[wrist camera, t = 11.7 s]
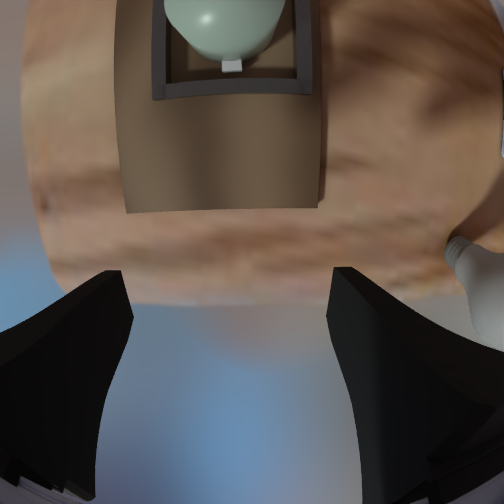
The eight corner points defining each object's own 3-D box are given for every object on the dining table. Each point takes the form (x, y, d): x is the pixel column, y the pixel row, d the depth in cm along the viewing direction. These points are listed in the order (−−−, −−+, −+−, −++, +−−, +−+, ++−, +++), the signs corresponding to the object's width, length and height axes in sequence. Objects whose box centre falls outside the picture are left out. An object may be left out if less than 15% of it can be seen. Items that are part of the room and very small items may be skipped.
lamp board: (313, -30, 11) (315, -34, 10) (315, 205, 18) (317, 208, 17) (122, -16, 11) (119, -19, 10) (129, 210, 18) (126, 213, 17)
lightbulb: (463, 195, 17) (566, 264, 8) (482, 247, 20) (560, 321, 10) (410, 243, 19) (498, 343, 10) (435, 290, 21) (501, 382, 12)
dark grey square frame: (303, -26, 10) (307, -35, 9) (307, 95, 14) (312, 94, 13) (160, -20, 10) (155, -27, 9) (158, 100, 14) (152, 100, 13)
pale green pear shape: (277, 71, 14) (290, 54, 9) (189, 77, 14) (165, 63, 9) (271, -16, 11) (280, -56, 6) (186, -10, 11) (165, -47, 6)
